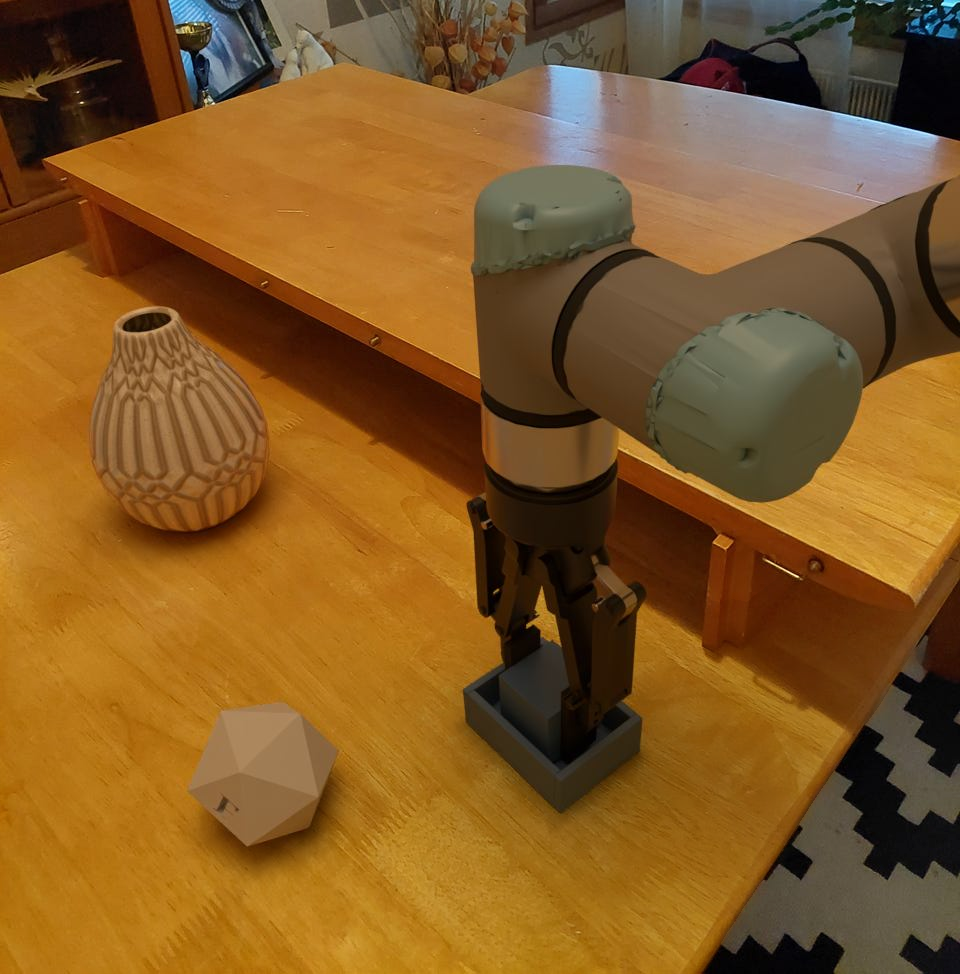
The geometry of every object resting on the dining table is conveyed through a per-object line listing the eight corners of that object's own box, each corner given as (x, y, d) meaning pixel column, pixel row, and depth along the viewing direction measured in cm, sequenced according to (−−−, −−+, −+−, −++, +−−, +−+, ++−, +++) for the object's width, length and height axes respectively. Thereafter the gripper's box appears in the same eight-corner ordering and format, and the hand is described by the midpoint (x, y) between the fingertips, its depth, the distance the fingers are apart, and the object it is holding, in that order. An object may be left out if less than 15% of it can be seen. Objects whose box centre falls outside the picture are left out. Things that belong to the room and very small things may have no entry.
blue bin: (640, 750, 65) (643, 717, 63) (560, 814, 62) (560, 781, 59) (542, 668, 72) (542, 636, 70) (465, 721, 68) (462, 688, 66)
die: (202, 781, 66) (140, 787, 56) (284, 679, 67) (237, 668, 58) (290, 861, 64) (241, 882, 54) (373, 755, 65) (339, 757, 56)
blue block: (600, 727, 66) (602, 680, 63) (548, 766, 63) (547, 719, 60) (552, 686, 69) (552, 639, 66) (500, 721, 66) (498, 675, 63)
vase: (246, 564, 83) (194, 370, 71) (84, 551, 86) (8, 361, 74) (303, 462, 96) (267, 282, 84) (160, 452, 98) (105, 277, 86)
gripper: (722, 501, 48) (683, 774, 62) (498, 372, 59) (507, 628, 73) (620, 566, 44) (603, 841, 58) (403, 416, 56) (432, 676, 70)
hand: (550, 721), depth 66 cm, fingers closed on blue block, 5 cm apart
